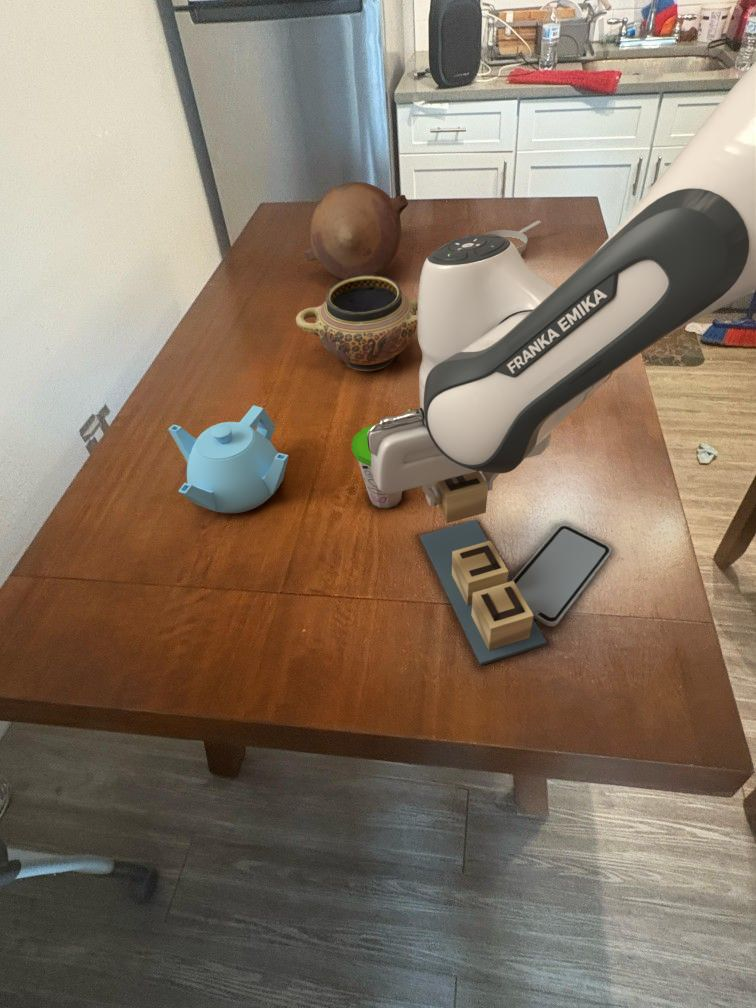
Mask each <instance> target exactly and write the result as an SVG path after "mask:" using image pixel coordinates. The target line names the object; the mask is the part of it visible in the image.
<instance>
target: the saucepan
mask: <svg viewBox="0 0 756 1008" xmlns="http://www.w3.org/2000/svg"><path fill="white" fill-rule="evenodd" d="M541 224H542V221H541V220H535V222H532V223H530V224H529V225H527V226H526V227H524V228H522V229H520V230H518V231H517V230H513V229H511V230H510V229H497V230H492V231H488V232H486V233H484V234H494V235H498V236H501V237H512V238H517V239H520V240H521V241H523V242H524V243H525V244H524V245H522V246H520V247H517V250H518V252H519V254H521V253H522V252H523V251H524V250H525V251H526V249H527V245H528V240H529V239H528V236H527V235H526V234H525V233H527V232H529V231H530V230H532V229H534V228H536V227H537V226H539V225H541ZM525 251H524V252H525ZM524 252H523V253H524ZM520 256H521V257H522V255H520Z"/></svg>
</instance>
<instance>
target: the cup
mask: <svg viewBox="0 0 756 1008" xmlns="http://www.w3.org/2000/svg"><path fill="white" fill-rule="evenodd" d="M409 411H413V409H412V408H411V407H410V408H409V409H408V410H407V411H406V412H409ZM376 424H377V423H375V424H372V425H369V426H366V427H363V428H362V429H360V430H359V431H358V432H357V433H356V434H355V435H354V436H353V437H352V441H351V452H352V454H353V455H354V457H355V458H356V460H357V463H358V465H359V469H360V472H361V475H362V478H363V481H364V484H365V488H366V491H367V495H368V497H369V500H370V502H371V504H372V505H373V506H375V507H377V508H379V509H391V508H393V507H396V506H398V505H399V503H400V502H401V501H402V496H403V491H401V492H397V493H393V494H388V495H387V494H384V493H383V492H381V491H380V490H379V489H378V488H377V486H376V484H375V481H374V479H373V476H372V472H371V452H370V451H369V449H368V442H367V434H368V431H369V430H370V429H371V428H372V427H373V426H374V425H376Z"/></svg>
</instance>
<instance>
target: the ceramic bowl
mask: <svg viewBox="0 0 756 1008" xmlns="http://www.w3.org/2000/svg"><path fill="white" fill-rule="evenodd" d="M417 311H418V299H410V298H409V297H407V296H406V295H405V294H404V293H402V289H401V287H400V286H399V284H398V283H397V282H396V281H394V280H393V279H391V278H389V277H385V276H382V275H380V276H374V275H363V276H357V277H352V278H348V279H345V280H340V281H338V282H337V283H335V284H334V285H333V286H331V287H330V288H329V290H328V291H327V293H326V297H325V301H324V302H323V303H322V304H320V305H318V306H316V307H315V306H314V307H306V308H304V309H303V310H301V311H299V313H298V314H297V315H296V317H295V323H296V326H297V327H298V328H299V329H300V330H302V331H304V332H306V333H310V334H312V335H315V336H316V337H318V339H319V341H320V343H321V345H322V346H323V347H324V348H325V349H326V350H327V351H328V352H329V353H330V354H331V355H333V356H334V357H335V358H337V359H339V360H341V361H343V362H344V364H345V365H346V366H347V367H348V368H350V369H353V370H355V371H360V372H373V371H377V370H381V369H383V368H385V367H387V366H389V365H390V364H391V363H392V362H393V361H394V359H395V357H396V356H398V355H399V354H401V353H402V352H403V351H404V350H405V349H406V347H408V345H409V344H410V343H411V341H412V339H413V337H414V335H415V334H416V333H415V332H416V329H417V326H418V319H417V315H418V314H417ZM309 318H315V322H308V321H307V320H306V319H309Z"/></svg>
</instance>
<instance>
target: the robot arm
mask: <svg viewBox="0 0 756 1008" xmlns="http://www.w3.org/2000/svg"><path fill="white" fill-rule="evenodd" d="M421 268H422V269H421V272H420V278H419V282H418V283H419V284H418V292H417V300H418V310H417V314H416V315H417V319H418V324H417V340H418V345H419V347H420V350H421V354H422V358H421V363H420V366H419V371H418V382H419V383H418V389H419V392H418V393H419V408H417V409H414V410H413V409H412V410H413V411H409V412H407V411H406V412H402V413H400V414H396V415H390V416H384V417H382V418H380V419H379V421H378V422H377V423H375V424H376V425H375V424H373V425H374V426H373V427H372V428H371V429H370V430H369V431H368V434H367V442H368V449H369V451H370V452H371V472H372V476H373V479H374V481H375V484H376V486H377V488H378V489H379V490H380V491H381V492H383V493H384V494H387V495H388V494H393V493H397V492H401V491H402V492H404V491H408V490H411V489H415V488H418V487H419V488H420V490H421V491H422V492H423V493H424V494H425V499H426V502H427V504H428V505H429V507H430V508H431V507H434V506H437V505H438V504H441V503H442V494H441V492H440V490H439V488H438V486H437V485H433V483H435V482H438V481H442V480H446V479H450V478H454V477H457V476H461V475H465V474H469V473H472V472H476V471H479V472H480V474H481V475H482V477H483V478H484V480H485V482H486V483H487V485H488V492H491V491H493V486H494V481H495V480H496V479H497V478H498V477H499V475H500V474H506V473H510V472H512V471H514V470H515V469H517V468H518V466H520V464H521V463H522V462H524V460H525V459H529V458H533V457H537V456H540V455H542V454H544V452H545V451H546V450H547V449H548V448H549V446H550V443H551V439H552V432H553V431H554V430H555V429H557V427H558V426H560V424H562V423H563V422H564V421H565V420H566V419H567V418H568V417H570V416H571V415H572V414H573V413H574V412H575V411H576V410H577V409H578V408H579V407H580V406H582V405H583V404H584V403H585V402H586V401H587V400H588V399H589V398H590V397H591V396H592V395H594V394H595V393H596V392H597V391H598V390H599V389H600V388H601V387H602V386H603V385H604V384H605V383H606V382H607V381H608V380H609V379H610V378H611V376H612V374H613V373H614V372H615V371H616V370H618V369H619V368H620V367H622V366H624V365H625V364H626V363H628V362H629V361H631V360H632V359H635V357H637V356H638V355H640V354H641V353H642V352H644V351H646V350H648V348H650V347H651V346H653V345H654V344H656V343H657V342H659V341H661V340H662V339H664V338H665V337H668V336H669V335H671V334H673V333H675V332H677V331H679V330H680V329H682V328H684V327H687V326H688V325H690V324H692V323H694V322H696V321H698V320H699V319H701V318H704V317H705V316H707V315H709V314H711V313H714V312H715V311H717V310H720V309H721V308H723V307H726V306H727V305H729V304H732V303H733V302H735V301H737V300H739V299H741V298H743V297H745V296H747V295H749V294H751V293H753V292H755V291H756V61H755V62H753V64H752V65H751V66H750V67H749V69H747V70H746V72H745V73H744V74H743V76H741V78H740V79H739V80H738V81H737V82H736V83H735V84H734V85H733V86H732V88H731V89H730V90H729V91H728V93H726V95H725V96H724V97H723V98H722V100H721V101H720V102H718V105H716V107H715V108H714V109H713V111H712V112H711V113H710V114H709V115H708V117H707V118H706V120H704V122H703V123H702V124H701V125H700V127H699V128H698V129H697V130H696V132H695V133H694V134H693V135H692V136H691V138H690V139H689V140H688V142H687V143H686V144H685V145H684V147H683V148H682V149H681V150H680V152H679V153H678V154H677V155H676V156H675V158H674V159H673V160H672V161H671V163H670V164H669V165H668V166H667V167H666V168H665V170H664V171H663V172H662V173H661V174H660V175H659V177H658V178H657V179H656V181H655V182H654V183H653V184H652V185H651V186H650V188H649V189H648V191H647V192H646V193H645V194H644V195H643V196H642V198H641V199H640V200H639V201H638V202H637V203H636V205H635V206H634V207H633V209H632V210H631V211H630V212H629V213H628V214H627V215H626V217H625V218H624V219H623V220H622V221H621V223H620V224H619V225H618V226H617V227H616V229H615V230H614V231H613V232H612V233H611V234H610V235H609V237H608V238H607V239H606V240H605V241H604V242H603V243H602V245H601V246H600V247H598V249H597V250H596V251H595V252H594V253H593V255H592V256H591V257H590V258H588V260H586V261H585V262H584V263H583V264H582V265H581V266H579V268H578V269H576V271H574V272H573V273H572V274H571V275H570V276H568V278H567V279H566V280H565V281H564V282H562V283H561V284H560V285H559V286H557V285H554V284H553V283H552V282H550V281H548V280H547V279H545V278H544V277H543V276H541V275H540V274H538V272H536V271H535V270H534V269H532V268H531V267H530V266H529V265H528V264H527V262H525V260H524V259H523V257H522V255H521V256H520V254H519V252H518V250H517V248H516V247H515V245H514V244H513V243H512V242H511V241H510V240H508V239H507V238H505V237H501V236H498V235H494V234H485V233H482V234H481V233H479V234H478V233H477V234H469V235H468V236H462V237H458V238H455V239H453V240H450V241H449V242H447V243H444V244H442V245H441V246H440V247H438V248H436V249H435V250H433V251H431V252H430V254H429V255H428V256H427V257H426V258H425V261H424V263H423V265H422V267H421Z"/></svg>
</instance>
